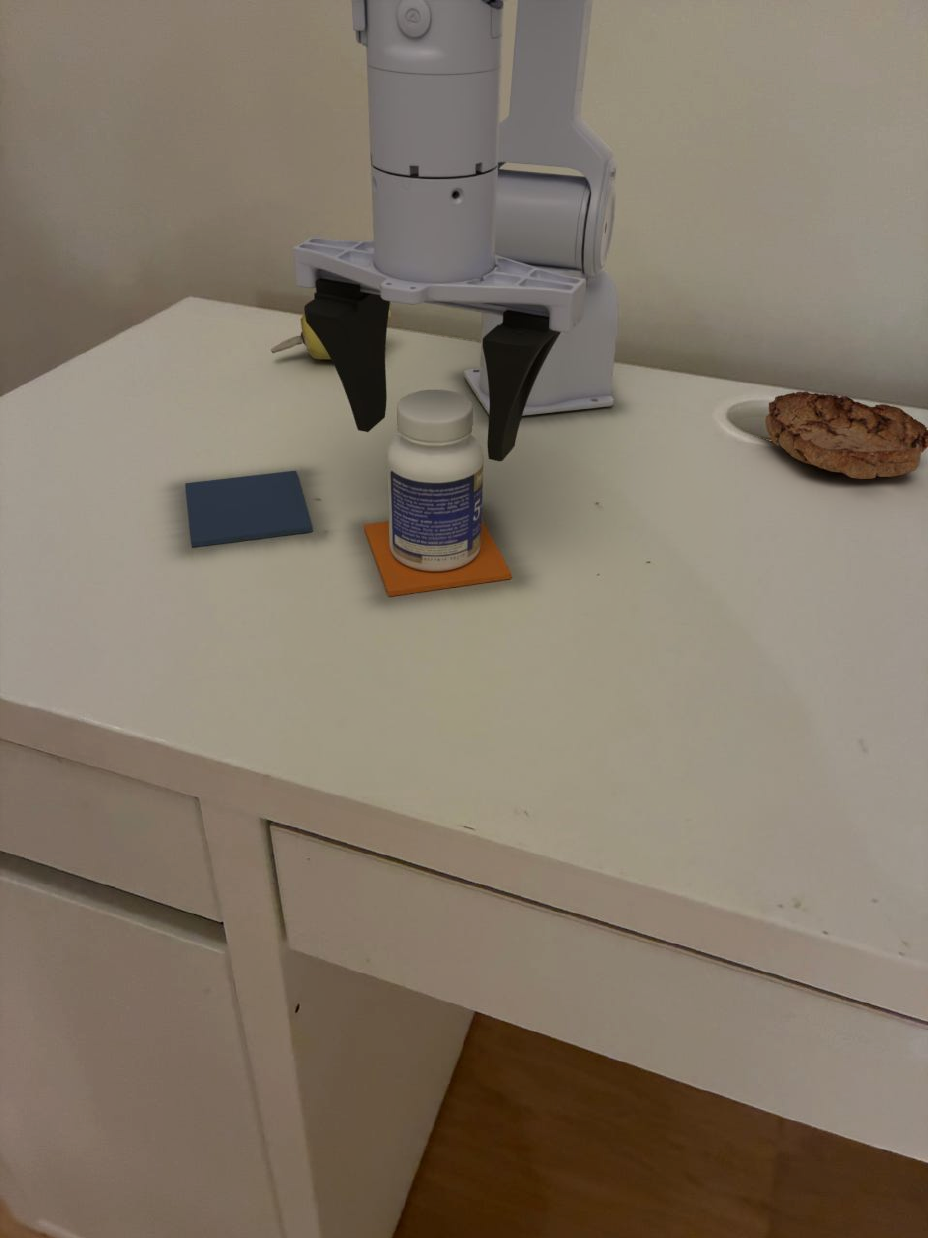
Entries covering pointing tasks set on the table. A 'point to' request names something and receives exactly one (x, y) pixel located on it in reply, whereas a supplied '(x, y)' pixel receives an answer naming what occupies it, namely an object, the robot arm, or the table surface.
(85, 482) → the table surface
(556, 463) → the table surface
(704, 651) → the table surface
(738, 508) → the table surface
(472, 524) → the pill bottle
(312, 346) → the fruit
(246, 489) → the blue mat
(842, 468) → the cookie
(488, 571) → the amber mat
